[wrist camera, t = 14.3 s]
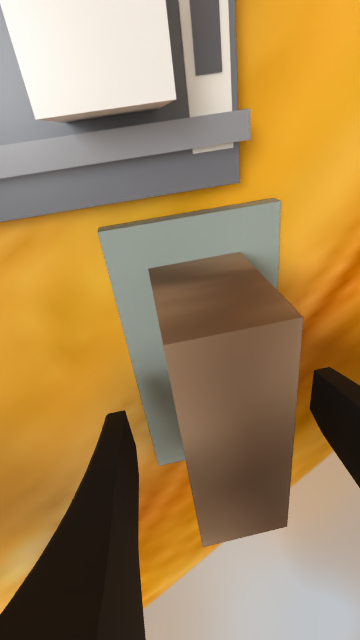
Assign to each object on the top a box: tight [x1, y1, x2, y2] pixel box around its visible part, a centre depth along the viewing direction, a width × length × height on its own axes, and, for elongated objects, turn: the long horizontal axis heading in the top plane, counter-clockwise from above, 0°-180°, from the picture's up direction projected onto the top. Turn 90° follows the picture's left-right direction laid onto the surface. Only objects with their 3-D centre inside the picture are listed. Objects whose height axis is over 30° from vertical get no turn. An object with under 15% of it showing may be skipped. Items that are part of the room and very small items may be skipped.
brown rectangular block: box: [148, 252, 303, 547], centre depth 13 cm, size 4×10×5 cm, turn 8°
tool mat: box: [98, 198, 281, 466], centre depth 15 cm, size 6×13×1 cm, turn 7°
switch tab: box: [0, 0, 176, 123], centre depth 6 cm, size 2×3×3 cm
